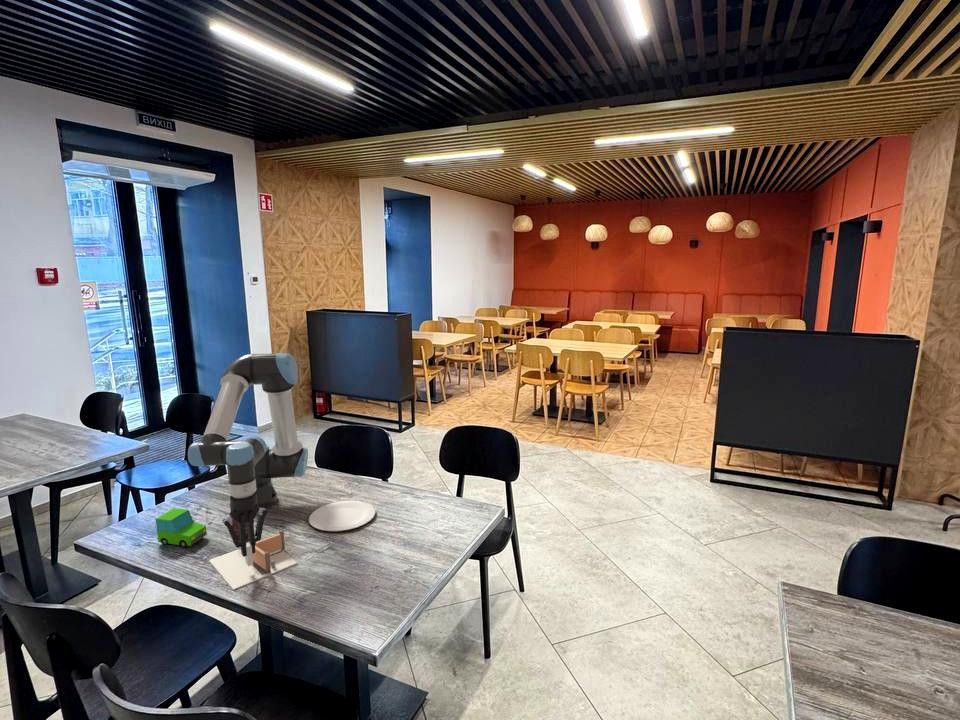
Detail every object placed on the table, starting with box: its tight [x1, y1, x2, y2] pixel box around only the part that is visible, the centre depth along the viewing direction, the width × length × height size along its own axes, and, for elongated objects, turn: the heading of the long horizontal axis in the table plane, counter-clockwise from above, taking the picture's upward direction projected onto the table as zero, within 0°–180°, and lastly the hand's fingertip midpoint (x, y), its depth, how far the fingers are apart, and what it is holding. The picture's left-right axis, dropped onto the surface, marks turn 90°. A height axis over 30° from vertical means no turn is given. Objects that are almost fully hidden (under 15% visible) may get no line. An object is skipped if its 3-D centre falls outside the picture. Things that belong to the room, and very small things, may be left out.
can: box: [229, 502, 249, 541], centre depth 183 cm, size 6×6×14 cm
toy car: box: [155, 507, 208, 549], centre depth 180 cm, size 10×13×10 cm
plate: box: [308, 500, 376, 533], centre depth 198 cm, size 25×25×2 cm
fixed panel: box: [255, 529, 286, 553], centre depth 171 cm, size 12×2×7 cm, turn 135°
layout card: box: [208, 548, 298, 591], centre depth 168 cm, size 20×22×2 cm
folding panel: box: [252, 546, 271, 573], centre depth 163 cm, size 10×1×7 cm, turn 51°
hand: (249, 563), depth 161 cm, fingers closed
